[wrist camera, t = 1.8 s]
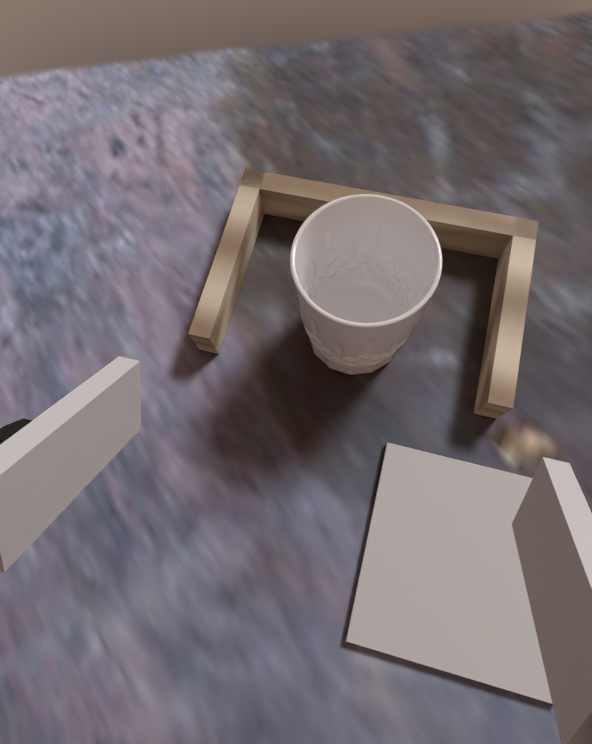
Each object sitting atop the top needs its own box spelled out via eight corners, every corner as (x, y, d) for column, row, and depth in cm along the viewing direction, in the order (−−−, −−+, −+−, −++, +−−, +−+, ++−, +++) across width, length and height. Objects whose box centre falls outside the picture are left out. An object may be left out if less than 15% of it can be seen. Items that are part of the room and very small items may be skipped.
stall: (496, 418, 32) (513, 408, 30) (199, 349, 35) (188, 333, 32) (521, 245, 36) (538, 221, 33) (251, 194, 39) (245, 168, 36)
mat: (345, 639, 29) (346, 641, 28) (386, 443, 32) (387, 442, 32) (555, 702, 27) (559, 705, 27) (575, 490, 31) (578, 489, 30)
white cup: (374, 404, 33) (393, 355, 24) (278, 347, 35) (260, 279, 25) (430, 314, 35) (469, 234, 25) (336, 263, 37) (340, 171, 27)
